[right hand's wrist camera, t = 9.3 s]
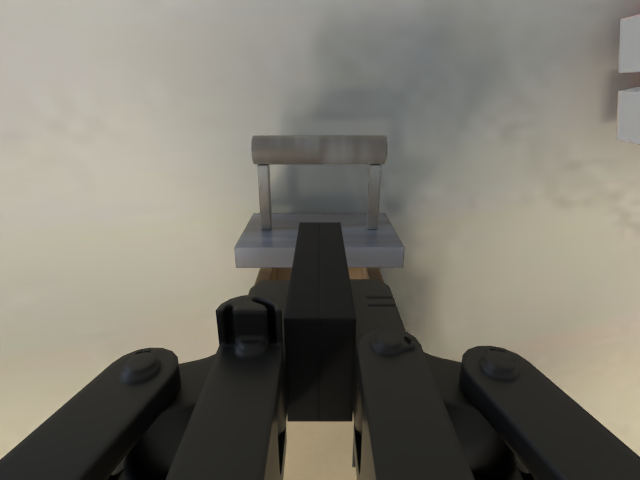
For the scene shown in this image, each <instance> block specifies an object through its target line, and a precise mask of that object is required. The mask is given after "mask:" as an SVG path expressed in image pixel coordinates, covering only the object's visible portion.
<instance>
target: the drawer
mask: <svg viewBox="0 0 640 480" xmlns="http://www.w3.org/2000/svg"><path fill="white" fill-rule="evenodd" d="M251 150H252V159H253V163H254V164H259V165H258V182H259V199H260V213H254V214H253V215H252V217H251V219H250V221H249V222H248V224H247V226H246V228H245V230H244V231H243V233H242V235H241V237H240V238H239V240H238V242H237V244H236V246H235V260H236V268H260V270H259V273H258V276H257V279H256V282H255V285H256V284H257V283H258V282H259V281H261V280H290V277H291V271H292V265H293V259H294V253H295V247H296V241H297V235H298V229H299V222H341V229H342V235H343V241H344V247H345V253H346V259H347V265H348V271H349V277H350V279H380V280H381V281H382V282H383V279H382V276H381V273H380V270H379V267H403V258H404V246H403V244H402V242H401V240H400V239H399V237H398V235H397V233H396V232H395V230H394V228H393V226H392V224H391V223H390V221H389V219H388V217H387V216H386V214H385V213H378V212H379V193H380V175H381V165H380V164H385V162H386V156H387V139H386V136H253V137H252V144H251ZM269 164H369V183H368V206H367V213H272V212H271V190H270V169H269Z"/></svg>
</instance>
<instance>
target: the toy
mask: <svg viewBox="0 0 640 480" xmlns="http://www.w3.org/2000/svg"><path fill="white" fill-rule="evenodd" d="M627 72H640V14H638V15H634V16H630V17H626V18H622V19H621V21H620V49H619V73H627ZM616 139H618V140H622V141H626V142H631V143H635V144H639V145H640V86H639V87H635V88H630V89H625V90H621V91H618V105H617V133H616Z"/></svg>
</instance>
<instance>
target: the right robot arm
mask: <svg viewBox="0 0 640 480" xmlns="http://www.w3.org/2000/svg"><path fill="white" fill-rule="evenodd" d="M216 317H217V327H218V336H219V348H218V350H217V353H216V354H214V355H212V356H210V357H207V358H204V359H200V360H196V361H192V362H187V363H182V364H178V357H177V356H176V355H175V354H174V353H173V352H172V351H170V350H167V349H164V348H146V349H140V350H136V351H134V352H132V353H129V354H127V355H124V356H122V357H121V358H119V359H118V360H116V361H115V362H113V363H112V364H111V365H110V366H108V367H107V368H106V369H105V370H104V371H103V372H101V373H100V374H99V375H98V376H97V377H96V378H95V379H93V380H92V381H91V382H90V383H89V384H88V385H86V386H85V387H84V388H83V389H82V390H81V391H79V392H78V393H77V394H76V395H75V396H74V397H73V398H71V399H70V400H69V401H68V402H67V403H66V404H64V405H63V406H62V407H61V408H60V409H59V410H57V411H56V412H55V413H54V414H53V415H52V416H51V417H49V418H48V419H47V420H46V421H45V422H44V423H42V424H41V425H40V426H39V427H38V428H37V429H36V430H34V431H33V432H32V433H31V434H30V435H29V436H27V437H26V438H25V439H24V440H23V441H22V442H20V443H19V444H18V445H17V446H16V447H15V448H14V449H12V450H11V451H10V452H9V453H8V454H7V455H5V456H4V457H3V458H2V459H1V460H0V480H283V477H284V466H285V456H286V445H287V433H286V420H287V421H288V422H352V421H353V418H354V433H353V459H352V467H356V477H357V480H640V457H639V456H638V455H637V454H636V453H635V452H633V451H632V450H631V449H630V448H629V447H628V446H626V445H625V444H624V443H623V442H622V441H621V440H619V439H618V438H617V437H616V436H615V435H614V434H612V433H611V432H610V431H609V430H608V429H607V428H605V427H604V426H603V425H602V424H601V423H600V422H598V421H597V420H596V419H595V418H594V417H593V416H591V415H590V414H589V413H588V412H587V411H586V410H584V409H583V408H582V407H581V406H580V405H579V404H577V403H576V402H575V401H574V400H573V399H572V398H570V397H569V396H568V395H567V394H566V393H565V392H563V391H562V390H561V389H560V388H559V387H558V386H556V385H555V384H554V383H553V382H552V381H551V380H549V379H548V378H547V377H546V376H545V375H544V374H542V373H541V372H540V371H539V370H538V369H537V368H535V367H534V366H533V365H532V364H531V363H530V362H528V361H527V360H525V359H524V358H522V357H521V356H519V355H518V354H516V353H513V352H511V351H508V350H506V349H503V348H499V347H493V346H477V347H474V348H471V349H468V350H467V351H466V352H465V353H464V355H463V357H462V362H457V361H452V360H447V359H442V358H439V357H435V356H432V355H429V354H427V353H425V352H423V350H422V347H421V345H420V343H419V342H418V341H417V339H416V338H415V337H414V336H412V335H410V334H409V333H407V332H406V331H405V328H404V326H403V323H402V320H401V317H400V315H399V312H398V309H397V307H396V304H395V301H394V299H393V296H392V293H391V290H390V287H389V286H387V285H386V284H385V283H384V282H382V281H381V280H380V279H350V277H349V271H348V265H347V259H346V253H345V247H344V241H343V235H342V229H341V222H299V229H298V235H297V241H296V247H295V253H294V259H293V265H292V271H291V277H290V280H261V281H259V282H258V283H257V284H256V285H254V286H253V287H252V288H251V289H250V292H249V295H245V296H239V297H236V298H232V299H230V300H228V301H226V302H224V303H222V304H221V305H220V306H219V307H218V309H217V310H216Z"/></svg>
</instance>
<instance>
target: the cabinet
mask: <svg viewBox="0 0 640 480" xmlns="http://www.w3.org/2000/svg"><path fill="white" fill-rule="evenodd" d="M286 433H287V445H286V456H285V466H284V477H283V480H357V477H356V467H352V459H353V433H354V418H353V421H352V422H288V421H287V420H286Z"/></svg>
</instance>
